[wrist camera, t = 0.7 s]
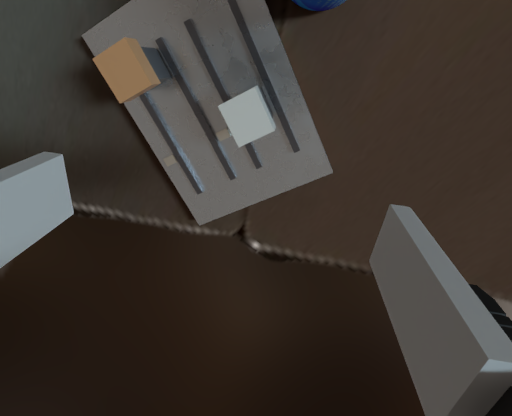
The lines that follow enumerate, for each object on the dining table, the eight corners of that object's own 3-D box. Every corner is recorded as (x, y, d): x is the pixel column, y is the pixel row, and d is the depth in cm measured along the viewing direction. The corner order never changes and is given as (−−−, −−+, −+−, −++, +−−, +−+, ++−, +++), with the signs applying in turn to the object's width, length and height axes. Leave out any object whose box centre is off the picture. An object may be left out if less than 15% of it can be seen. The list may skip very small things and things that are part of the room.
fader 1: (127, 59, 31) (92, 58, 26) (155, 41, 30) (124, 37, 25) (148, 96, 32) (120, 103, 27) (176, 80, 31) (151, 84, 26)
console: (93, 36, 33) (77, 34, 30) (239, -65, 27) (234, -76, 25) (203, 218, 41) (197, 227, 39) (331, 166, 36) (333, 174, 34)
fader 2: (230, 98, 32) (217, 106, 26) (261, 82, 31) (254, 86, 25) (247, 133, 33) (238, 147, 28) (278, 119, 32) (274, 130, 27)
